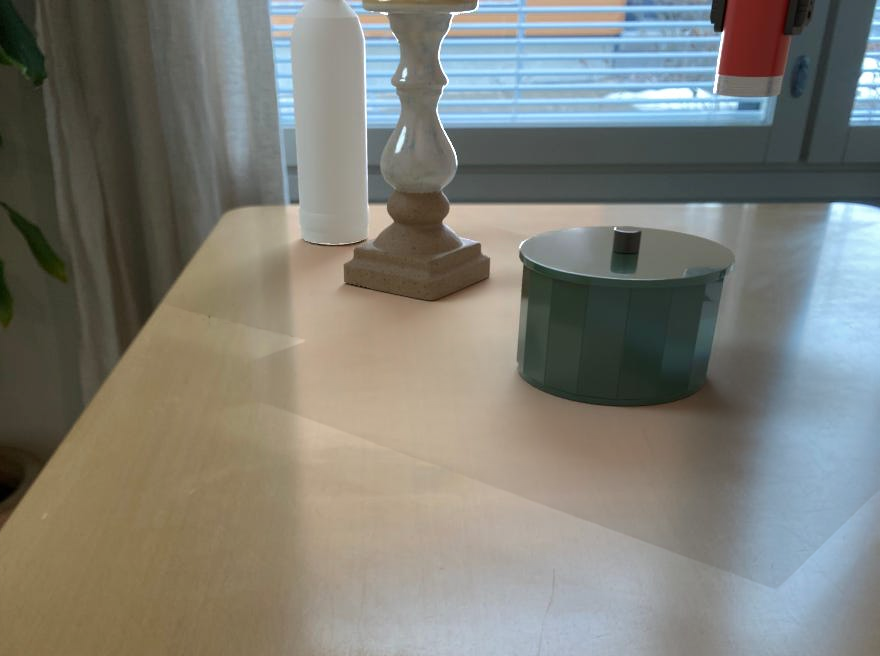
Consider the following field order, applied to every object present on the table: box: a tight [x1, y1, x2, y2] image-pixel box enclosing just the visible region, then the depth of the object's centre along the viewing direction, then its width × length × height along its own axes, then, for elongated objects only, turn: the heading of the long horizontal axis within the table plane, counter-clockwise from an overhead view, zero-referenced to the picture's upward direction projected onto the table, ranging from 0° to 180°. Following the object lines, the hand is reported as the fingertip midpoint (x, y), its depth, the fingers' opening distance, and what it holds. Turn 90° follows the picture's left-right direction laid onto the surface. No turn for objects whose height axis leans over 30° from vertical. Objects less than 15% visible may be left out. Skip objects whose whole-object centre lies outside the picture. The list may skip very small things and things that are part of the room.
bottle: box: [289, 0, 370, 244], centre depth 104 cm, size 8×8×30 cm
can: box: [713, 0, 793, 98], centre depth 83 cm, size 6×6×9 cm
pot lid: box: [518, 225, 736, 289], centre depth 72 cm, size 16×16×3 cm
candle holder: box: [343, 0, 491, 301], centre depth 91 cm, size 11×11×24 cm
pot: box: [516, 263, 726, 407], centre depth 75 cm, size 15×15×8 cm
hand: (756, 32), depth 83 cm, fingers closed on can, 5 cm apart
